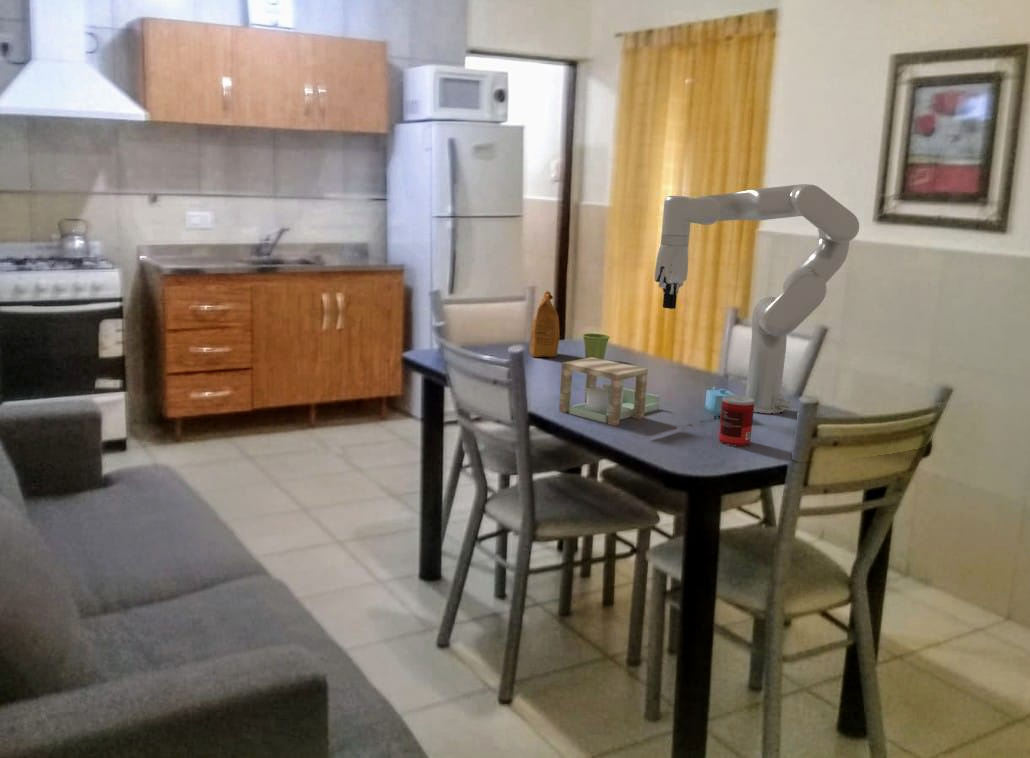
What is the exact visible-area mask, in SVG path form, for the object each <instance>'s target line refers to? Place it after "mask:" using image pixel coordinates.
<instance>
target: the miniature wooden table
mask: <svg viewBox="0 0 1030 758" xmlns="http://www.w3.org/2000/svg"><path fill="white" fill-rule="evenodd" d="M648 371H649V370H648V368H645V367H640V366H637V365H631V364H628V363H627V364H626V363H622V362H617V361H612V360H607V359H604V360H603V359H598V358H593V357H591V358H586V357H585V358H580V359H576V360H570V361H569V360H568V361H563V362H562V363H561V372H560V390H559V403H558V404H559V405H558V412H559V413H563V414H567V413H569V406H571V399H572V398H571V395H572V383H573V382H572V380H573V372H577V373H581V374H586V378H585V379H586V380H585V389H584V390H585V393H584V394H585V395H584V403H587V391H588V388H590V387H597V379H598V378H597V377H600V378H604V379H610V384H611V392H610V405H609V419H608V423H607V425H611V426H614V427H615V426H618V425H620V420H621V419H620V407H621V394H622V386H623V382H624V381H623V380H628V379H632V378H636V379H635V386H634V387H635V389H634V390H635V400H634V412H633V416H632V418H634V419H638V420H640V419H644V418H645V413H644V409H645V397H646V393H647V384H648V383H647V381H648Z"/></svg>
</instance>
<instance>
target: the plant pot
mask: <svg viewBox="0 0 1030 758" xmlns="http://www.w3.org/2000/svg"><path fill="white" fill-rule="evenodd" d="M581 336H582V337H583V341H584V353H585V355H584V356H585V359H586V358H591V357H593V358H598V359H603V360H605V354H606V350H607V346H608V345H607V344H608V342H609V339H610V338H611V336H610V335H608V334H602V333H589V332H588V333H582V335H581Z"/></svg>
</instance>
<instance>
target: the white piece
mask: <svg viewBox="0 0 1030 758" xmlns="http://www.w3.org/2000/svg"><path fill="white" fill-rule="evenodd" d="M602 388H606V389H608V404H607V414H609V405H610V392H611V383H606V384H603V386H602ZM624 388H625V386H623V385H622V394H621V407H620V412H621V411H622V402H623V389H624Z"/></svg>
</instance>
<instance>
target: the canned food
mask: <svg viewBox="0 0 1030 758" xmlns="http://www.w3.org/2000/svg"><path fill="white" fill-rule="evenodd" d="M754 413H755V412H754V400H753V399H752V398H749V397H746V395H745V396H744V395H737V394H735V395H727V396H724V397H723V399H722V407H721V416H720V417H719V418H720V419H719V429H718V440H719V442H720V443H721V442H722V443H721V444H723V443H725V444H729V445H728V446H730V445H736V446H735V447H746V446H745V445H747V446H749V444H750V442H751V437H752V429H753V427H752V426H753V419H754ZM725 444H724V445H725Z"/></svg>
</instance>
